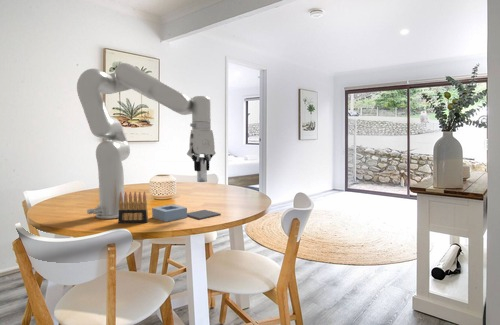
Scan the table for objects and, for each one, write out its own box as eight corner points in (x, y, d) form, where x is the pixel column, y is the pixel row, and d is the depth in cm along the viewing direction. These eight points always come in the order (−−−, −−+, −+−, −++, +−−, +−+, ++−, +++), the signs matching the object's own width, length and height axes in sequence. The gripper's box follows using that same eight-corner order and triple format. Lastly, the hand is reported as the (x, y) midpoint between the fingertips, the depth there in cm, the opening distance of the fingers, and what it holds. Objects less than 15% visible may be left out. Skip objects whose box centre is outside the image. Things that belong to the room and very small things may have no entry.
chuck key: (204, 182, 128) (203, 157, 128) (192, 181, 134) (192, 157, 133) (211, 181, 131) (211, 157, 130) (200, 180, 137) (199, 156, 136)
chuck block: (165, 222, 122) (165, 211, 122) (152, 217, 129) (152, 207, 129) (187, 217, 129) (186, 207, 129) (173, 213, 136) (173, 204, 136)
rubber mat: (199, 219, 126) (199, 218, 126) (183, 215, 133) (183, 213, 133) (220, 215, 134) (220, 213, 134) (204, 210, 141) (204, 209, 141)
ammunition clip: (148, 221, 123) (147, 191, 122) (147, 223, 121) (146, 191, 120) (119, 222, 122) (119, 191, 121) (118, 223, 120) (117, 192, 119)
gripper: (189, 125, 122) (190, 172, 124) (222, 127, 134) (223, 169, 136) (179, 126, 128) (179, 171, 129) (211, 127, 140) (211, 168, 141)
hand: (201, 170), depth 132 cm, fingers closed on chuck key, 4 cm apart
